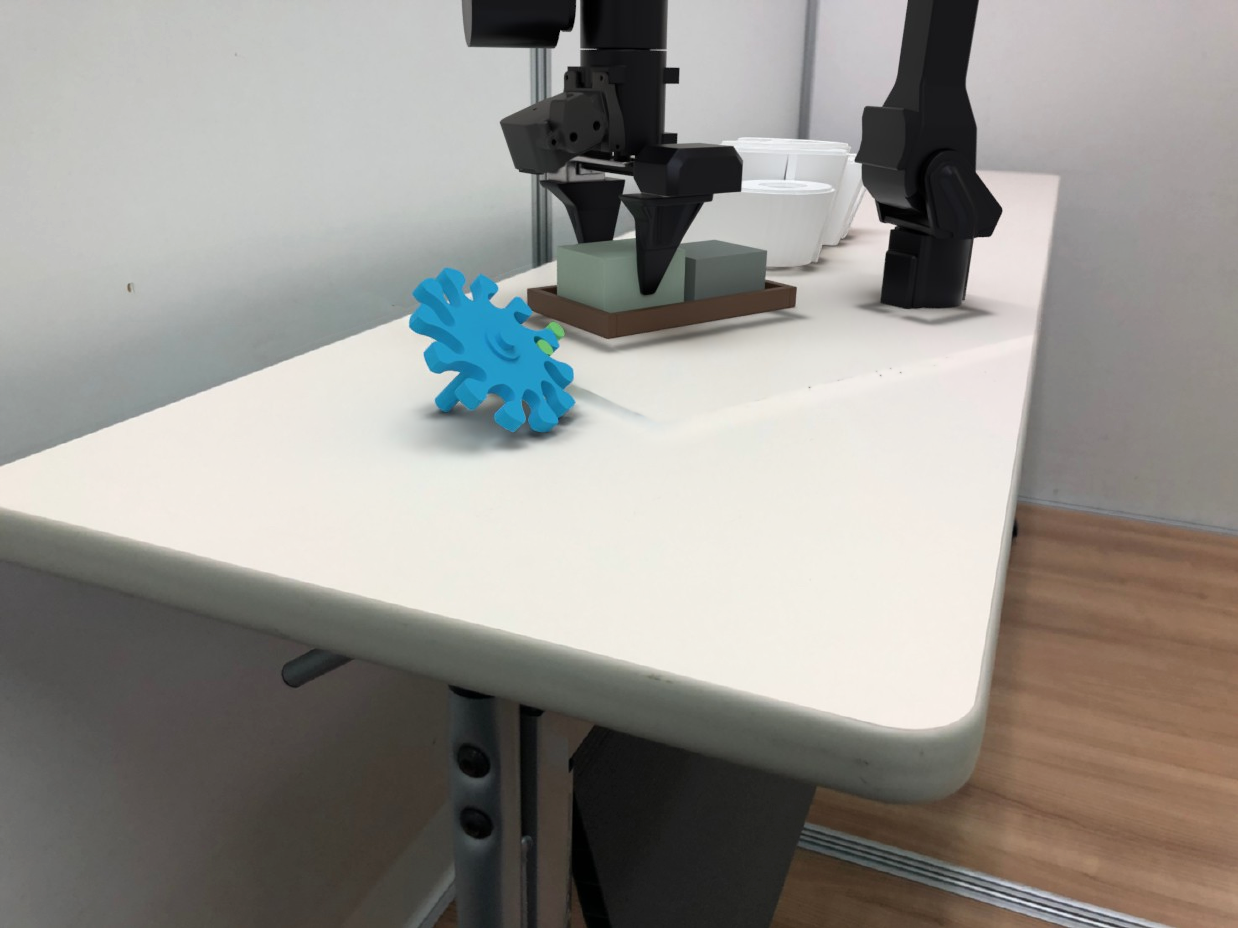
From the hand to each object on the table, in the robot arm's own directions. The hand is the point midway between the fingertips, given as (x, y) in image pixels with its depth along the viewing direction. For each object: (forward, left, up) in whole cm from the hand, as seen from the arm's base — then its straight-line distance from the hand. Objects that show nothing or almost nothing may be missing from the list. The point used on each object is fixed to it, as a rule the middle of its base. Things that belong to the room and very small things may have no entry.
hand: (620, 286), depth 70 cm
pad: (-8, 0, -2) cm, 8 cm away
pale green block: (0, 0, -1) cm, 1 cm away
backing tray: (-4, 0, -3) cm, 5 cm away
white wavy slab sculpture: (-33, -18, -3) cm, 38 cm away
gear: (+17, +13, -3) cm, 22 cm away
